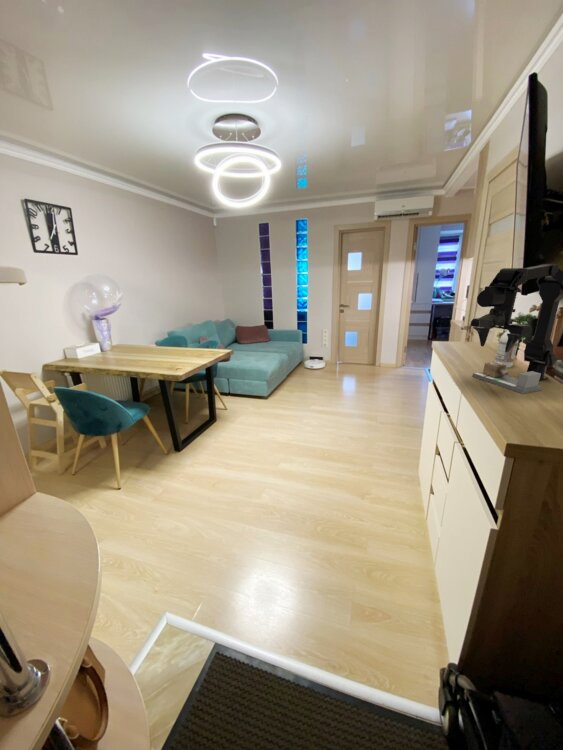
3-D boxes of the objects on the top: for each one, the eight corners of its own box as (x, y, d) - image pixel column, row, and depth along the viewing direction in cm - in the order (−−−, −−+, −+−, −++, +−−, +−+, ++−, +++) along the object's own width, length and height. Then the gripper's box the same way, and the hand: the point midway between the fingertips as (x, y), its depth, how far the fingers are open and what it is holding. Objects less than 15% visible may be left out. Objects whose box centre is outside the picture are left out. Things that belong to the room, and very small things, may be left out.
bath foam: (508, 368, 138) (519, 324, 132) (491, 365, 144) (501, 322, 137) (514, 366, 142) (525, 322, 135) (498, 362, 147) (508, 320, 141)
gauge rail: (489, 373, 132) (492, 359, 130) (540, 390, 114) (545, 373, 112) (472, 376, 128) (475, 361, 126) (522, 393, 111) (526, 376, 109)
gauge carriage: (491, 372, 128) (494, 360, 126) (510, 377, 121) (513, 365, 120) (479, 374, 126) (482, 362, 124) (497, 380, 119) (500, 367, 118)
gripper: (463, 304, 113) (455, 345, 119) (515, 310, 97) (503, 357, 102) (485, 303, 117) (476, 343, 122) (538, 308, 101) (526, 354, 106)
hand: (493, 349), depth 113 cm, fingers open, 9 cm apart
